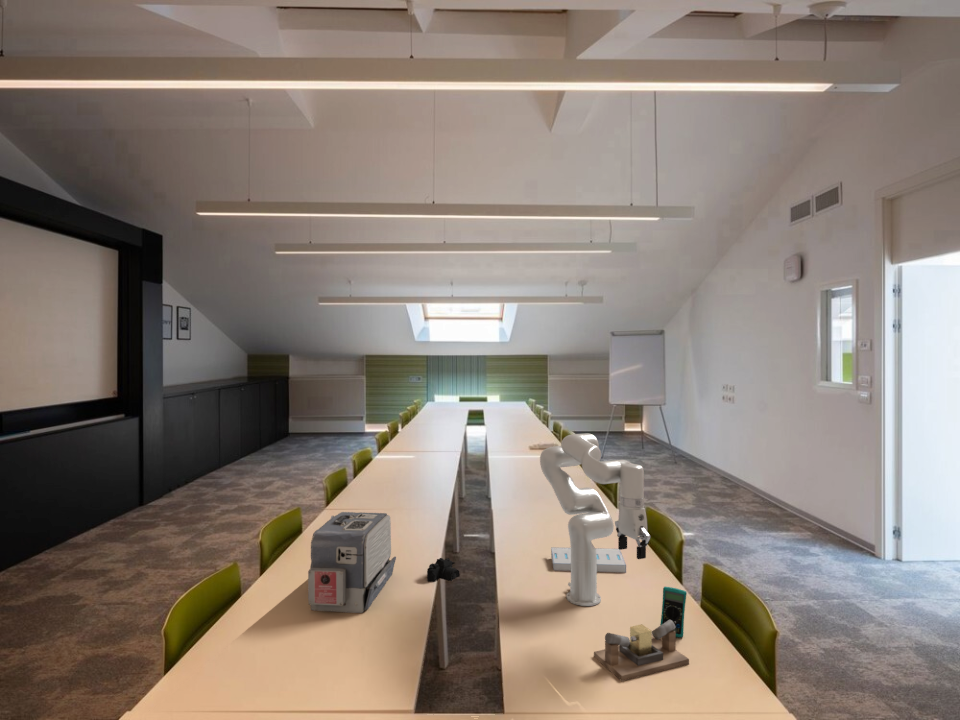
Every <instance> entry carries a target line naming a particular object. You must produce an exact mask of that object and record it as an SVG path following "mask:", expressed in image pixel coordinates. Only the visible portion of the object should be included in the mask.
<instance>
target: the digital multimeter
mask: <svg viewBox="0 0 960 720" xmlns="http://www.w3.org/2000/svg"><path fill="white" fill-rule="evenodd" d="M687 594H688V593H687V591H686V590H684V589H680V588H676V587H671V586H663V588H662V602H661V603H662V606H661V615H660V616H661V617H660V625H659V626H661V625H662V624H664V623H665V622H667V621H668V620H672V621H673V622H674V624H675V626H676V628H675V629H673V630H674V631H675V632H676V638H683V637H684V627H685V626H684V624H685V611H686V602H687Z"/></svg>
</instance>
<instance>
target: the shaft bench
mask: <svg viewBox="0 0 960 720" xmlns="http://www.w3.org/2000/svg"><path fill="white" fill-rule="evenodd" d="M675 628H676V626H675V624H674V622H673V621H672V620H668V621H667V622H665V623H664V624H662V625H661V626H660V625H659V626H658V627H656V628H654V629H653V630H651V631H652V636H653V637H652V643H651V654H648V655H644V656H640V657H639V656H637V655H636V654H635V653H633V652H632V651H631V650H630V637H629V636H625V635H620V634H617V633H611V632H606V634H605V635H604V639H605V640H604V649H601V650H596V651H593V657H594V658H595V659H596V660H597V661H598V662H599V663H600V664H602V665H603V666H604V667H605V668H606V669H607V670H609V671H610V672H611V673H612V674H613V675H615V677H616V678H618V679H619V680H620V681H621V682H624V681H628V680H632V679H636V678H640V677H643V676H647V675H652V674H655V673H659V672H662V671H667V670H671V669H674V668H675V669H676V668H679V667H682V666H686V665H690V659H689V658H688V657H687V656H686V655H684V654H683V653H681V652H680V651H679V650H677V649H676V646H677V644H676V638H677V637H676V632H675V631H674V630H673V629H675Z"/></svg>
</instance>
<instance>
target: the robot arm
mask: <svg viewBox="0 0 960 720" xmlns="http://www.w3.org/2000/svg"><path fill="white" fill-rule="evenodd" d="M560 443H561V444H560V445H555V446H549V447H547V448H545V449H543V450H542V451H541V453H540V455H539V464H540V469H541V471H542V474H543V475H544V477H545V479H546V480H547V481H548V483H549V484H550V485H551V488H552V490H553V492H554V493H555V496H556V499H557V500H558V502H559V505H560V507H561V509H562V511H564V513H565V514H566V515H570V516H572V515H573V516H572V517H571V518H570V519H569V521H568V524H567V529H568V535H569V543H570V548H571V571H570V582H568V583H567V586H568V587H569V589H570V590H569V592H567V593H566V600H567V601H568V602H570V603H571V604H573V605H575V606H580V607H592V606H596V605H597V606H598V604H600V603H601V601H602V597H601V595H600V594H599V593H598V592H597V588H598V585H597V584H598V583H597V579H598V578H597V575H598V572H597V553H596V549H595V548H596V547H595V546H594V544H593V543H592V541H594V540H597V539H602V538H607V537H609V536H611V535H612V534H613V533H614V529H615V531H616V533H617V538H618V548H617V549H619V550H620V551H621V550H627V549H628V538H630V539H632V540H635V542H636V544H637V546H636V560H643V559H646V558H647V547H648V544H649V542H650V539H651V535H650V534H649V532H648V518H647V513H646V508H645V506H644V505H645V503H644V501H645V499H644V498H645V497H644V494H645V490H644V488H645V479H644V478H645V472H644V467H643V466H642V465H641V464H636V463H632V462H630V461H629V460H626V459H615V460H604V461H600V460H601V457H602V452H601V449H600V445H599V440H598V439H597V437H596V436H595V435H594V434H591V433H588V432H587V433H586V432H585V433H573V434H568V435H566V436H565V437H563V439H562V440H561V442H560ZM580 465H581V468H582V470H583V473H584V474H585V476H586V477H587V478H589V479H591V480H592V481H594V482H596V483H597V484H601V485H607V484H617V483H618V484H619V483H620V484H619V485H620V486H619V489H620V490H619V491H620V492H619V494H620V495H619V496H620V497H619V498H620V499H619V508H618V509H619V510H618V520H616V521H613V519H612V517H611V514H610V512H609V511H608V508H607V506H606V504H605V502H604V500H603V499H602V496H601V495H600V494H599V492H598V491H597V490H595V488H593V487H578V486H576V483H575V482H574V480H573V478H572V477H571V475H569V474H568V472H566V471H564V470H563V469H562V468H569V467H570V468H571V467H575V466H580ZM614 527H615V528H614Z"/></svg>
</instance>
